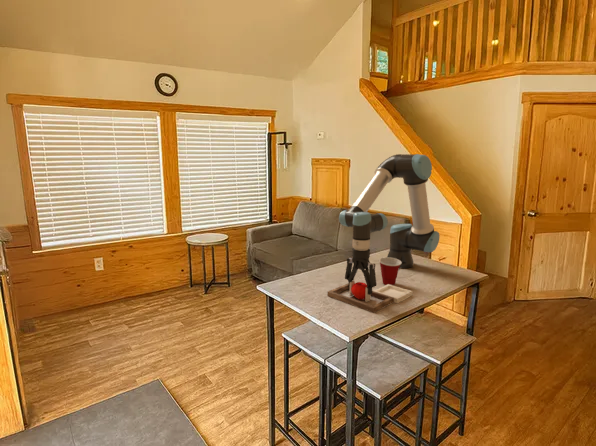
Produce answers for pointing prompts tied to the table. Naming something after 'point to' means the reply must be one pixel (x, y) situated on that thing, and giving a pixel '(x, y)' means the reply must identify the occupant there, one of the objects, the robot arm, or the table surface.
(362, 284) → the apple
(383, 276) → the plastic cup
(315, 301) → the table surface
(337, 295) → the pocket frame
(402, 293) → the dish
